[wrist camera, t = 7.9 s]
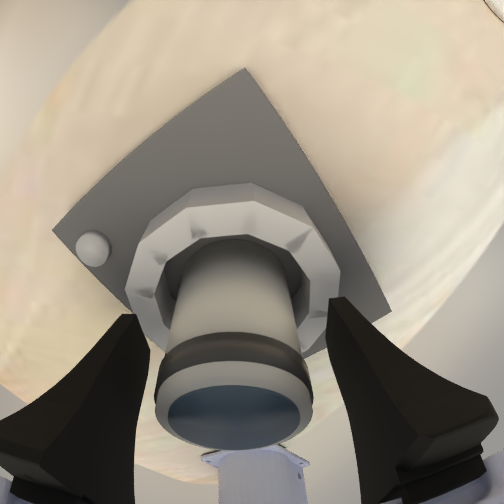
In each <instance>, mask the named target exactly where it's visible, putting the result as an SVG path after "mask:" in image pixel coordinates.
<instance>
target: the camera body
mask: <svg viewBox="0 0 504 504" xmlns="http://www.w3.org/2000/svg"><path fill="white" fill-rule="evenodd" d="M52 231H53V232H54V233H55V234H56V236H57V237H58V238H59V239H60V240H61V241H62V242H63V243H64V244H65V246H66V247H67V248H68V249H69V250H70V251H71V252H72V253H73V254H74V255H75V256H76V257H77V258H78V259H79V260H80V262H81V263H82V264H83V265H84V266H85V267H86V268H87V269H88V270H89V271H90V272H91V273H92V274H93V275H94V276H95V277H96V278H97V279H98V280H99V281H100V282H101V283H102V284H103V285H104V286H105V287H106V288H107V289H108V290H109V291H110V292H111V293H112V294H113V295H114V296H115V297H116V298H117V299H119V300H120V301H121V302H122V303H123V304H124V305H125V306H126V307H127V308H128V309H129V310H130V311H131V312H132V313H134V314H136V315H137V317H138V320H139V323H140V325H141V328H142V331H143V333H144V335H146V336H147V337H148V338H149V339H150V340H151V341H153V342H154V343H155V344H156V345H157V346H159V347H160V348H161V349H162V350H163V351H165V352H166V348H167V343H168V338H169V333H170V328H171V324H172V319H173V314H174V310H175V305H176V301H177V297H178V292H179V288H180V283H181V279H182V275H183V271H184V268H185V266H186V264H187V262H188V261H189V259H190V258H191V257H192V256H193V255H194V254H195V253H196V252H197V251H199V250H200V249H202V248H203V247H205V246H207V245H209V244H212V243H214V242H218V241H222V240H245V241H249V242H253V243H256V244H258V245H261V246H262V247H264V248H266V249H268V250H269V251H270V252H272V253H273V254H274V255H275V256H276V257H277V259H278V260H279V261H280V263H281V264H282V266H283V268H284V271H285V275H286V279H287V284H288V289H289V294H290V298H291V303H292V308H293V313H294V317H295V322H296V327H297V332H298V337H299V342H300V347H301V352H302V357H303V359H304V358H307V357H309V356H311V355H313V354H315V353H317V352H319V351H321V350H323V349H325V348H326V347H327V344H326V340H325V334H326V324H327V313H328V302H329V298H336V297H344V296H345V297H346V298H347V299H348V300H349V301H350V302H351V303H352V304H353V305H354V306H355V308H356V309H357V310H358V311H359V312H360V313H361V314H362V315H363V316H364V317H365V318H366V319H367V320H368V321H369V322H370V323H373V322H375V321H376V320H378V319H380V318H381V317H383V316H385V315H387V314H388V313H390V312H392V311H391V309H390V306H389V304H388V302H387V300H386V298H385V296H384V294H383V292H382V290H381V288H380V286H379V284H378V282H377V280H376V278H375V276H374V274H373V272H372V270H371V268H370V267H369V265H368V263H367V261H366V259H365V257H364V255H363V253H362V251H361V249H360V248H359V246H358V244H357V242H356V240H355V238H354V237H353V235H352V233H351V231H350V229H349V228H348V226H347V224H346V222H345V220H344V219H343V217H342V215H341V213H340V212H339V210H338V208H337V206H336V205H335V203H334V201H333V200H332V198H331V196H330V195H329V193H328V191H327V189H326V188H325V186H324V184H323V183H322V181H321V180H320V178H319V176H318V175H317V173H316V171H315V170H314V168H313V167H312V165H311V163H310V162H309V160H308V159H307V157H306V155H305V154H304V152H303V151H302V149H301V148H300V146H299V144H298V143H297V141H296V140H295V138H294V137H293V135H292V134H291V132H290V131H289V129H288V128H287V126H286V125H285V123H284V122H283V120H282V119H281V117H280V116H279V114H278V113H277V111H276V110H275V108H274V107H273V106H272V104H271V103H270V101H269V100H268V98H267V97H266V96H265V94H264V93H263V91H262V90H261V89H260V87H259V86H258V84H257V83H256V82H255V80H254V79H253V78H252V76H251V75H250V73H249V72H248V71H247V69H246V68H244V69H242V70H241V71H239V72H238V73H236V74H235V75H233V76H232V77H230V78H229V79H227V80H226V81H224V82H223V83H221V84H220V85H218V86H217V87H215V88H214V89H212V90H211V91H210V92H208V93H207V94H205V95H204V96H202V97H201V98H200V99H198V100H197V101H196V102H194V103H193V104H191V105H190V106H189V107H187V108H186V109H185V110H183V111H182V112H181V113H179V114H178V115H177V116H175V117H174V118H173V119H172V120H170V121H169V122H168V123H166V124H165V125H164V126H163V127H161V128H160V129H159V130H158V131H156V132H155V133H154V134H153V135H152V136H150V137H149V138H148V139H147V140H146V141H144V142H143V143H142V144H141V145H140V146H138V147H137V148H136V149H135V150H134V151H133V152H131V153H130V154H129V155H128V156H127V157H126V158H125V159H123V160H122V161H121V162H120V163H119V164H118V165H117V166H116V167H114V168H113V169H112V170H111V171H110V172H109V173H108V174H107V175H106V176H105V177H104V178H103V179H102V180H100V181H99V182H98V183H97V184H96V185H95V186H94V187H93V188H92V189H91V190H90V191H89V192H88V193H87V194H86V195H85V196H84V197H83V198H82V199H81V200H80V201H79V202H78V203H77V204H76V205H75V206H74V207H73V208H72V209H71V210H70V211H69V212H68V213H67V214H66V215H65V216H64V218H63V219H62V220H61V221H60V222H59V223H58V224H57V225H56V226H55V227H54V228H53V229H52Z"/></svg>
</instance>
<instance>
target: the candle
mask: <svg viewBox="0 0 504 504" xmlns="http://www.w3.org/2000/svg"><path fill="white" fill-rule="evenodd" d="M485 2H486V3H487V4H488V6H489V7H490V8H491V9H492V11H493V12H494V13H495V14H496V15H497V16H498V17H499V18H500V19H501V20H502V21H504V0H485Z"/></svg>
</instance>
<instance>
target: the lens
mask: <svg viewBox="0 0 504 504" xmlns="http://www.w3.org/2000/svg"><path fill="white" fill-rule="evenodd" d="M154 400H155V404H156V407H155V414H156V417H157V420H158V421H159V423H160V424H161V425H162V427H163V428H164V429H165V430H167V431H168V432H169V433H170V434H172V435H173V436H175V437H177V438H179V439H181V440H183V441H185V442H188V443H190V444H193V445H196V446H200V447H204V448H209V449H215V450H225V451H246V450H255V449H261V448H266V447H270V446H273V445H277V444H280V443H282V442H284V441H287V440H289V439H291V438H293V437H294V436H296V435H297V434H299V433H300V432H301V431H302V430H304V429H305V427H306V426H307V425H308V424H309V422H310V421H311V418H312V413H313V410H312V404H313V391H312V386H311V381H310V376H309V371H308V367H307V365H306V362H305V361H304V359H303V357H302V352H301V347H300V342H299V337H298V332H297V327H296V322H295V317H294V313H293V308H292V303H291V298H290V294H289V289H288V284H287V279H286V275H285V271H284V268H283V266H282V264H281V263H280V261H279V260H278V259H277V257H276V256H275V255H274V254H273V253H272V252H270V251H269V250H268V249H266V248H264V247H262V246H261V245H258V244H256V243H253V242H249V241H245V240H222V241H218V242H214V243H212V244H209V245H207V246H205V247H203V248H202V249H200V250H199V251H197V252H196V253H195V254H194V255H193V256H192V257H191V258H190V259H189V261H188V262H187V264H186V266H185V268H184V271H183V275H182V279H181V283H180V288H179V292H178V297H177V301H176V305H175V310H174V314H173V319H172V324H171V328H170V333H169V338H168V343H167V348H166V353H165V357H164V358H163V360H162V362H161V364H160V367H159V372H158V377H157V382H156V388H155V393H154Z"/></svg>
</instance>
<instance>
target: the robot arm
mask: <svg viewBox="0 0 504 504" xmlns="http://www.w3.org/2000/svg"><path fill="white" fill-rule="evenodd" d="M325 340H326V344H327V349H328V354H329V358H330V362H331V365H332V368H333V371H334V374H335V377H336V380H337V383H338V386H339V389H340V392H341V394H342V397H343V400H344V403H345V406H346V410H347V413H348V417H349V421H350V426H351V431H352V436H353V441H354V447H355V453H356V460H357V467H358V474H359V482H360V492H361V503H362V504H504V448H503V449H502V450H500V451H498V452H496V453H494V454H492V455H491V456H489V457H487V458H486V459H484V460H482V458H481V455H480V454H482V453H483V448H482V446H481V442H482V441H483V440H484V439H485V438H486V437H487V436H488V435H489V434H490V432H491V431H492V430H493V429H494V428H495V426H496V425H497V422H498V420H499V418H498V415H497V413H496V411H495V409H494V407H493V405H492V404H491V402H490V400H489V399H488V397H487V396H484V395H482V394H479V393H476V392H473V391H471V390H468V389H466V388H463V387H461V386H459V385H457V384H455V383H452V382H451V381H448V380H447V379H444V378H443V377H441V376H439V375H437V374H436V373H434V372H432V371H431V370H429V369H427V368H426V367H424V366H422V365H421V364H419V363H418V362H416V361H415V360H414V359H412V358H411V357H409V356H408V355H407V354H405V353H404V352H403V351H401V350H400V349H399V348H398V347H396V346H395V345H394V344H393V343H392V342H391V341H389V340H388V339H387V338H386V337H385V336H384V335H383V334H382V333H381V332H379V331H378V330H377V329H376V328H375V327H374V326H373V325H372V324H371V323H370V322H369V321H368V320H367V319H366V318H365V317H364V316H363V315H362V314H361V313H360V312H359V311H358V310H357V309H356V308H355V306H354V305H353V304H352V303H351V302H350V301H349V300H348V299H347V298H346V297H345V296H344V297H336V298H329V302H328V313H327V324H326V334H325ZM149 361H150V348H149V346H148V343H147V341H146V338H145V336H144V333H143V331H142V328H141V325H140V323H139V320H138V317H137V315H136V314H122V315H121V316H120V317H119V318H118V319H117V320H116V321H115V322H114V324H113V325H112V326H111V327H110V328H109V329H108V331H107V332H106V333H105V334H104V335H103V336H102V338H101V339H100V340H99V341H98V342H97V343H96V344H95V346H94V347H93V348H92V349H91V350H90V351H89V352H88V353H87V354H86V355H85V357H84V358H83V359H82V360H81V361H80V362H79V363H78V364H77V365H76V366H75V367H74V368H73V369H72V370H71V371H70V372H69V373H68V374H67V375H66V376H65V377H64V378H62V379H61V380H60V381H59V382H58V383H57V384H56V385H54V386H53V387H52V388H51V389H49V390H48V391H47V392H45V393H44V394H43V395H42V396H40V397H39V398H38V399H36V400H35V401H33V402H32V403H30V404H29V405H27V406H26V407H24V408H22V409H21V410H19V411H17V412H16V413H14V414H12V415H10V416H8V417H6V418H4V419H2V420H0V466H1V467H2V468H4V469H5V470H6V471H8V472H9V473H10V474H11V475H13V476H14V478H13V481H12V482H11V481H10V480H8V479H6V478H4V477H1V476H0V504H135V496H134V449H135V436H136V427H137V421H138V416H139V412H140V407H141V403H142V398H143V394H144V390H145V385H146V381H147V377H148V371H149ZM201 460H202V461H203V462H206V463H208V464H210V465H212V466H214V467H217V468H219V504H308V502H307V496H306V489H305V482H304V475H303V469H302V468H304V467H307V466H309V465H310V464H309V461H307V460H305V459H303V458H301V457H299V456H297V455H295V454H293V453H292V452H290V451H288V450H286V449H284V448H283V447H281V446H279V445H273V446H270V447H266V448H261V449H255V450H246V451H225V450H222V451H218V452H214V453H211V454H207V455H203V456H201Z"/></svg>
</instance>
